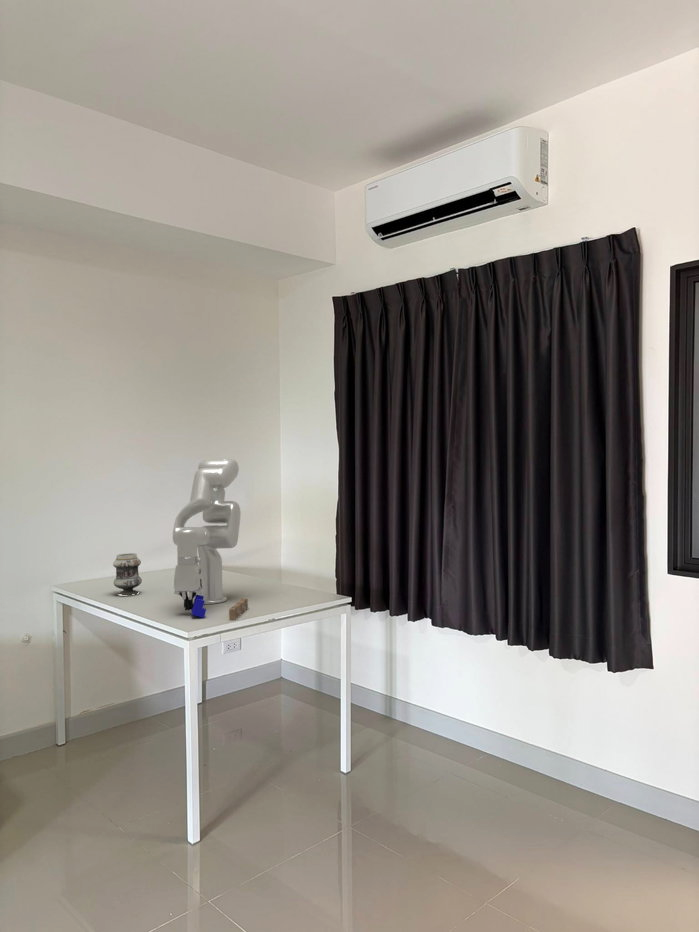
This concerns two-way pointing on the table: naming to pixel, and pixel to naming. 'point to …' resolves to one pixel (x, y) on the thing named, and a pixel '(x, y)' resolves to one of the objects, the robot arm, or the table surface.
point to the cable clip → (198, 606)
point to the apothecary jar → (127, 573)
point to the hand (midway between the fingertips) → (188, 609)
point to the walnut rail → (238, 608)
